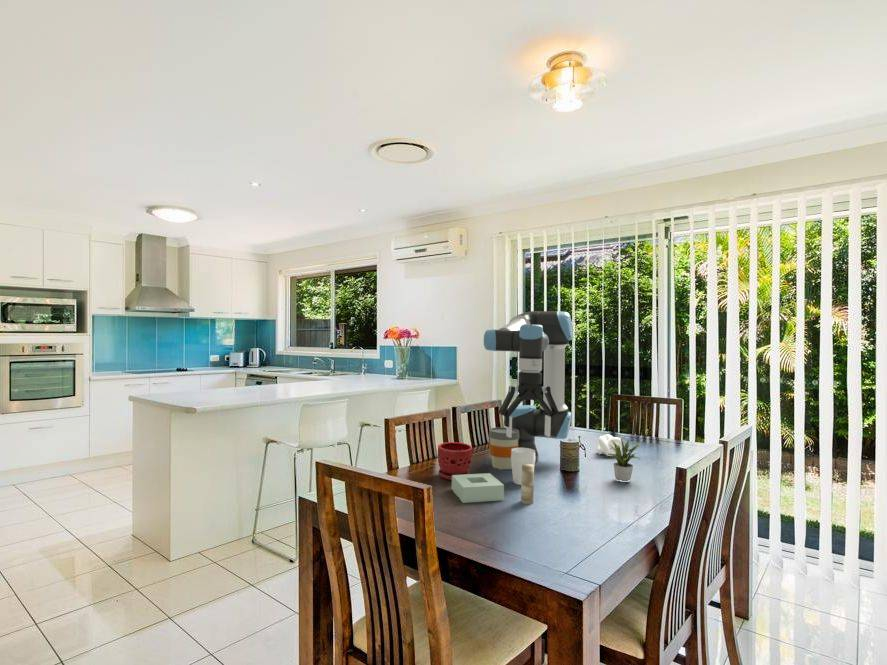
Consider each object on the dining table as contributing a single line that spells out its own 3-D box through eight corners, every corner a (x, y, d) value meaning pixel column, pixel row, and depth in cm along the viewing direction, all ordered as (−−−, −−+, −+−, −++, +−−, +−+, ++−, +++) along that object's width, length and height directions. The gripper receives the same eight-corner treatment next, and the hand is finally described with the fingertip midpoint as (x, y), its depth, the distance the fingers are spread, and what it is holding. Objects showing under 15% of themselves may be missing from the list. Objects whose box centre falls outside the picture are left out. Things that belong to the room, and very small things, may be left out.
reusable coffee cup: (518, 463, 217) (518, 427, 217) (519, 471, 204) (520, 434, 204) (488, 461, 218) (489, 426, 218) (487, 470, 205) (488, 432, 205)
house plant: (647, 489, 185) (649, 444, 185) (607, 486, 188) (609, 441, 188) (640, 478, 199) (642, 436, 199) (603, 475, 202) (604, 433, 202)
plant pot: (430, 478, 192) (431, 446, 192) (447, 470, 203) (447, 440, 203) (462, 484, 186) (463, 451, 185) (477, 475, 197) (478, 444, 197)
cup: (516, 487, 184) (516, 453, 184) (506, 479, 193) (507, 447, 193) (539, 485, 186) (539, 452, 186) (528, 478, 195) (529, 447, 195)
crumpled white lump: (588, 453, 238) (588, 433, 238) (608, 451, 243) (608, 432, 243) (605, 459, 228) (606, 439, 228) (626, 456, 233) (626, 437, 233)
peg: (530, 499, 171) (531, 463, 171) (535, 503, 167) (536, 466, 167) (518, 500, 170) (519, 464, 170) (523, 504, 166) (524, 467, 166)
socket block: (489, 487, 183) (489, 473, 183) (503, 500, 170) (504, 485, 170) (451, 489, 180) (451, 475, 180) (463, 502, 166) (463, 487, 166)
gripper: (498, 372, 161) (496, 439, 161) (570, 372, 168) (568, 437, 168) (490, 370, 169) (488, 434, 169) (559, 370, 175) (557, 433, 175)
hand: (528, 436), depth 168 cm, fingers open, 13 cm apart
